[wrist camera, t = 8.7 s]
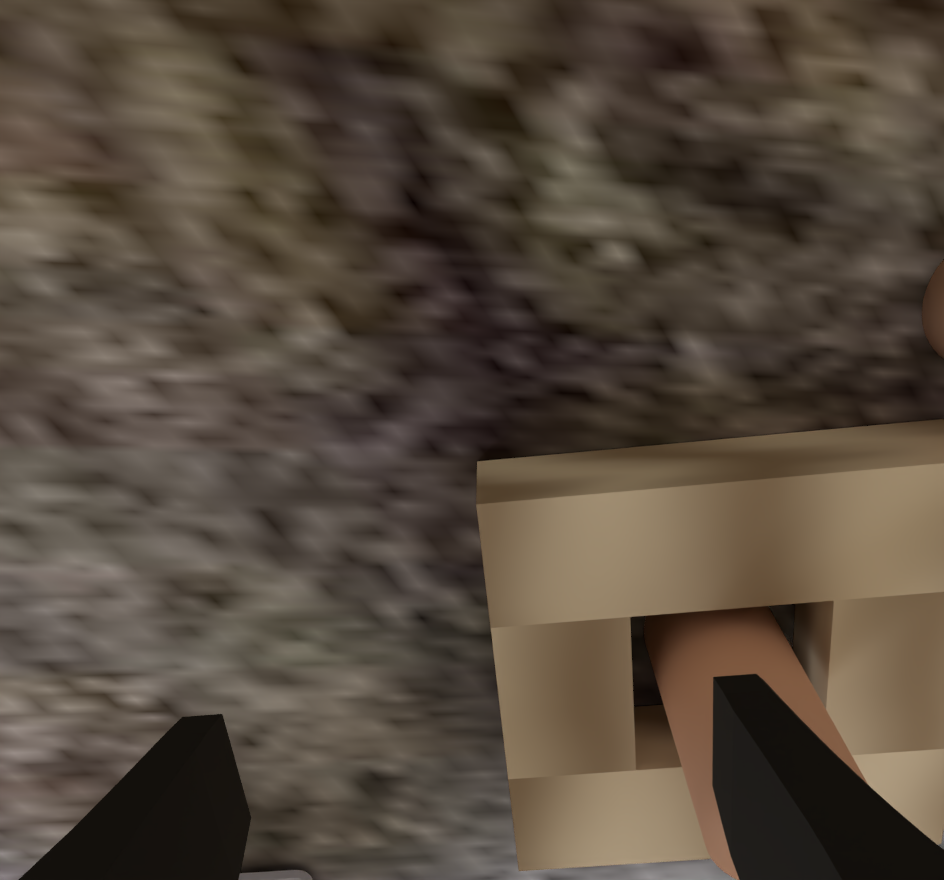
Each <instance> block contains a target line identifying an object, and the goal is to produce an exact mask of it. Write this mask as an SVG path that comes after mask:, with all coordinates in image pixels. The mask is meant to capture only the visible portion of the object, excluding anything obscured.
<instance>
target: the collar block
mask: <svg viewBox="0 0 944 880" xmlns="http://www.w3.org/2000/svg"><path fill="white" fill-rule="evenodd" d="M476 506H477V515H478V523H479V532H480V541H481V549H482V558H483V566H484V575H485V584H486V592H487V601H488V609H489V618H490V627H491V635H492V644H493V652H494V661H495V670H496V678H497V687H498V695H499V704H500V713H501V721H502V730H503V738H504V747H505V756H506V764H507V773H508V781H509V790H510V799H511V807H512V816H513V824H514V833H515V842H516V850H517V859H518V867H519V871H527V870H543V869H558V868H574V867H589V866H605V865H621V864H636V863H652V862H668V861H683V860H699V859H712V858H711V857H710V855H709V853H708V851H707V848H706V846H705V843H704V839H703V836H702V833H701V829H700V826H699V822H698V819H697V816H696V812H695V809H694V806H693V802H692V799H691V795H690V792H689V789H688V785H687V782H686V779H685V775H684V772H683V768H682V765H681V762H680V758H679V755H678V752H677V748H676V745H675V742H674V738H673V735H672V731H671V728H670V725H669V721H668V718H667V715H666V711H665V708H664V705H652V706H638V707H634V702H633V676H632V650H631V625H630V617H635V616H648V615H660V614H673V613H685V612H698V611H710V610H722V609H735V608H747V607H760V606H772V605H785V604H795V619H794V638H793V651H794V653H795V655H796V657H797V659H798V660H799V662H800V664H801V666H802V668H803V669H804V671H805V673H806V675H807V676H808V678H809V680H810V682H811V684H812V685H813V687H814V689H815V691H816V692H817V694H818V696H819V698H820V700H821V701H822V703H823V705H824V707H825V709H826V710H827V712H828V714H829V716H830V717H831V719H832V721H833V723H834V725H835V726H836V728H837V730H838V732H839V733H840V735H841V737H842V739H843V741H844V742H845V744H846V746H847V748H848V750H849V751H850V753H851V755H852V757H853V758H854V760H855V762H856V764H857V766H858V767H859V769H860V771H861V773H862V774H863V776H864V778H865V780H866V782H867V783H868V785H869V786H870V787H871V788H872V789H873V790H874V791H876V792H877V793H878V794H879V795H880V796H881V797H882V798H883V799H884V800H886V801H887V802H888V803H889V804H890V805H891V806H892V807H893V808H895V809H896V810H897V811H898V812H899V813H900V814H902V815H903V816H904V817H905V818H906V819H907V820H909V821H910V822H911V823H912V824H913V825H914V826H916V827H917V828H918V829H919V830H920V831H921V832H923V833H924V834H925V835H926V836H927V837H929V838H930V839H931V840H932V841H933V842H935V843H936V844H941V842H942V835H943V828H944V419H937V420H927V421H916V422H905V423H894V424H883V425H872V426H861V427H850V428H839V429H828V430H817V431H806V432H795V433H784V434H773V435H762V436H751V437H740V438H729V439H718V440H707V441H696V442H685V443H674V444H663V445H652V446H641V447H630V448H619V449H608V450H597V451H586V452H575V453H564V454H553V455H542V456H531V457H520V458H509V459H498V460H487V461H477V495H476Z"/></svg>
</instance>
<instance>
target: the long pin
mask: <svg viewBox="0 0 944 880" xmlns="http://www.w3.org/2000/svg"><path fill="white" fill-rule="evenodd" d="M644 639H645V644H646V647H647V651H648V654H649V657H650V661H651V664H652V667H653V671H654V674H655V678H656V681H657V684H658V688H659V691H660V694H661V698H662V701H663V704H664V708H665V711H666V715H667V718H668V721H669V725H670V728H671V731H672V735H673V738H674V742H675V745H676V748H677V752H678V755H679V758H680V762H681V765H682V768H683V772H684V775H685V779H686V782H687V785H688V789H689V792H690V795H691V799H692V802H693V806H694V809H695V812H696V816H697V819H698V822H699V826H700V829H701V833H702V836H703V839H704V843H705V846H706V848H707V851H708V853H709V855H710V857H711V858H712V860H713V861H714V862H715V864H716V865H717V866H718V867H719V868H720V869H722V870H723V871H724V872H725V873H727V874H728V875H730V876H731V877H733V878H735V879H737V880H739V877H738V875H737V872H736V869H735V867H734V864H733V861H732V858H731V855H730V852H729V848H728V844H727V841H726V837H725V833H724V830H723V826H722V822H721V818H720V814H719V810H718V806H717V802H716V798H715V794H714V790H713V787H712V762H713V677H718V676H732V675H745V674H757V675H759V676H760V677H761V678H762V679H763V680H764V681H765V682H766V683H767V684H768V685H769V686H770V687H771V688H772V689H773V690H774V691H775V692H776V694H777V695H778V696H779V697H780V698H781V699H782V700H783V701H784V702H785V703H786V704H787V705H788V706H789V707H790V708H791V709H792V710H793V711H794V713H795V714H796V715H797V716H798V717H799V718H800V719H801V720H802V721H803V722H804V723H805V724H806V725H807V726H808V727H809V728H810V729H811V730H812V731H813V732H814V733H815V734H816V735H817V736H818V737H819V738H820V739H821V740H822V741H823V742H824V743H825V744H826V745H827V746H828V747H829V748H830V749H831V750H832V751H833V752H834V753H835V754H836V755H837V756H838V757H839V758H840V759H841V760H842V761H844V762H845V763H846V764H847V765H848V766H849V767H850V768H851V769H852V770H853V771H854V772H855V773H856V774H857V775H858V776H859V777H860V778H862V779H863V780H864V781H865V782H866V780H865V778H864V776H863V774H862V773H861V771H860V769H859V767H858V766H857V764H856V762H855V760H854V758H853V757H852V755H851V753H850V751H849V750H848V748H847V746H846V744H845V742H844V741H843V739H842V737H841V735H840V733H839V732H838V730H837V728H836V726H835V725H834V723H833V721H832V719H831V717H830V716H829V714H828V712H827V710H826V709H825V707H824V705H823V703H822V701H821V700H820V698H819V696H818V694H817V692H816V691H815V689H814V687H813V685H812V684H811V682H810V680H809V678H808V676H807V675H806V673H805V671H804V669H803V668H802V666H801V664H800V662H799V660H798V659H797V657H796V655H795V653H794V651H793V650H792V648H791V646H790V644H789V643H788V641H787V639H786V637H785V635H784V634H783V632H782V630H781V628H780V627H779V625H778V623H777V621H776V619H775V618H774V616H773V614H772V612H771V611H770V609H769V607H768V606H760V607H747V608H735V609H722V610H710V611H698V612H685V613H673V614H660V615H648V616H646V618H645V622H644ZM866 783H867V782H866ZM867 784H868V783H867Z"/></svg>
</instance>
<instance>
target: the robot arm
mask: <svg viewBox="0 0 944 880" xmlns="http://www.w3.org/2000/svg"><path fill="white" fill-rule="evenodd" d="M712 787H713V790H714V794H715V798H716V802H717V806H718V810H719V814H720V818H721V822H722V826H723V830H724V833H725V837H726V841H727V844H728V848H729V852H730V855H731V858H732V861H733V864H734V867H735V869H736V872H737V875H738V877H739V880H944V850H943V849H942V848H941V847H940V846H938V845H937V844H936V843H935V842H933V841H932V840H931V839H930V838H929V837H927V836H926V835H925V834H924V833H923V832H921V831H920V830H919V829H918V828H917V827H916V826H914V825H913V824H912V823H911V822H910V821H909V820H907V819H906V818H905V817H904V816H903V815H902V814H900V813H899V812H898V811H897V810H896V809H895V808H893V807H892V806H891V805H890V804H889V803H888V802H887V801H886V800H884V799H883V798H882V797H881V796H880V795H879V794H878V793H877V792H876V791H874V790H873V789H872V788H871V787H870V786H869V785H868V784H867V783H866V782H865V781H864V780H863V779H862V778H860V777H859V776H858V775H857V774H856V773H855V772H854V771H853V770H852V769H851V768H850V767H849V766H848V765H847V764H846V763H845V762H844V761H842V760H841V759H840V758H839V757H838V756H837V755H836V754H835V753H834V752H833V751H832V750H831V749H830V748H829V747H828V746H827V745H826V744H825V743H824V742H823V741H822V740H821V739H820V738H819V737H818V736H817V735H816V734H815V733H814V732H813V731H812V730H811V729H810V728H809V727H808V726H807V725H806V724H805V723H804V722H803V721H802V720H801V719H800V718H799V717H798V716H797V715H796V714H795V713H794V711H793V710H792V709H791V708H790V707H789V706H788V705H787V704H786V703H785V702H784V701H783V700H782V699H781V698H780V697H779V696H778V695H777V694H776V692H775V691H774V690H773V689H772V688H771V687H770V686H769V685H768V684H767V683H766V682H765V681H764V680H763V679H762V678H761V677H760V676H759V675H757V674H745V675H732V676H718V677H713V762H712ZM250 820H251V816H250V812H249V808H248V805H247V801H246V798H245V794H244V791H243V787H242V783H241V780H240V776H239V773H238V769H237V765H236V762H235V758H234V755H233V751H232V747H231V744H230V740H229V737H228V733H227V730H226V726H225V722H224V719H223V715H222V714H217V715H204V716H191V717H182V718H181V719H180V720H179V721H178V722H177V723H176V724H175V725H174V726H173V727H172V728H171V729H170V730H169V731H168V732H167V733H166V734H165V735H164V736H163V737H162V738H161V739H160V740H159V741H158V742H157V743H156V744H155V745H154V746H153V747H152V748H151V749H150V750H149V751H148V752H147V753H146V754H145V756H144V757H143V758H142V759H141V760H140V761H139V762H138V763H137V764H136V765H135V766H134V767H133V768H132V769H131V770H130V771H129V772H128V773H127V774H126V775H125V776H124V777H123V778H122V779H121V781H120V782H119V783H118V784H117V785H116V786H115V787H114V788H113V789H112V790H111V791H110V792H109V793H108V794H107V795H106V796H105V797H104V798H103V799H102V800H101V801H100V802H99V803H98V804H97V805H96V806H95V807H94V808H93V809H92V810H91V811H90V812H89V813H88V814H87V815H86V816H85V817H84V818H83V819H82V820H81V821H80V822H79V823H78V824H77V825H76V826H75V827H74V828H73V829H72V830H71V831H70V832H69V833H68V834H67V835H66V836H65V837H64V838H62V839H61V840H60V841H59V842H58V843H57V844H56V845H55V846H54V847H53V848H52V849H51V850H50V851H49V852H48V853H47V854H45V855H44V856H43V857H42V858H41V859H40V860H39V861H38V862H37V863H36V864H35V865H34V866H33V867H32V868H31V869H30V870H28V871H27V872H26V873H25V874H24V875H23V876H22V877H21V878H20V879H19V880H313V879H312V877H311V876H310V875H309V874H308V873H307V872H305V871H302V870H284V871H269V872H253V873H240V870H241V866H242V861H243V857H244V851H245V846H246V841H247V836H248V831H249V826H250Z"/></svg>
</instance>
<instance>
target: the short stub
mask: <svg viewBox="0 0 944 880" xmlns="http://www.w3.org/2000/svg"><path fill="white" fill-rule="evenodd" d="M922 322H923V328H924V332H925V335H926V337H927V339H928V342H929V343H930V345H931V346H932V348H933V349H934V350H935V351H936V353H937V354H938V355H939V356H941V357H942V358H943V359H944V259H943V261H942V262H941V263H940V265H939V266H938V267H937V269H936V270H935V272H934V274H933V275H932V277H931V279H930V281H929V284H928V286H927V288H926V292H925V295H924V299H923V305H922Z"/></svg>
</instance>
